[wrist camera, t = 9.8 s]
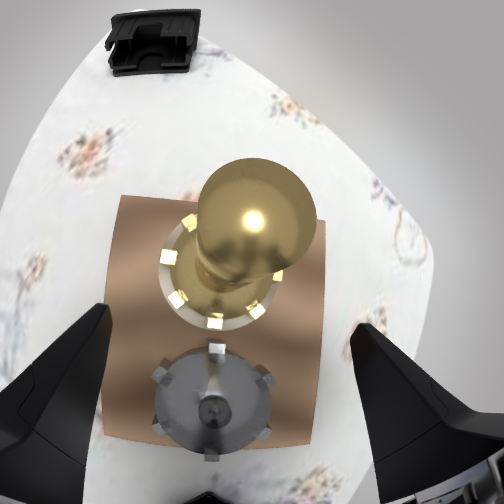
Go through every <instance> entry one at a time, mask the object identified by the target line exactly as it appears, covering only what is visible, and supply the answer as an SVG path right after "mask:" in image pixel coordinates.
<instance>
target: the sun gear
mask: <svg viewBox="0 0 504 504" xmlns="http://www.w3.org/2000/svg"><path fill="white" fill-rule="evenodd" d="M151 378H153V379H154V380H156V381H157V382H158V383H159V385H158V388H157V391H156V395H155V411H156V413H155V416H154V419H153V422H152V425H151V426H152V428H153V429H154V431H155V432H156V434H157V435H158V437H161V436H164V435H168V436H169V437H170V438H171V439H172V440H173V441H175V442H176V443H177V444H179V445H180V446H182V447H184V448H186V449H188V450H190V451H193V452H196V453H201V454H204V461H214V462H219V455H221V454H228V453H232V452H235V451H238V450H240V449H242V448H244V447H246V446H248V445H249V444H251V443H252V442H253V441H254V440H255V439H257V438H259V439H261V440H263V441H265V440H266V439H267V438H268V436H269V435H270V434H271V432H272V431H273V430H272V429H271V427H270V426H269V424H268V421H269V418H270V414H271V404H272V402H271V395H270V391H269V389H270V388H272V387H274V386H276V385H277V383H276V381H275V379H274V377H273V375H272V373H271V372H270V371H269V370H267V369H266V368H265V367H263V366H262V365H261V364H259V365H257V366H255V367H253V366H252V365H250V364H249V363H248V362H247V361H246V360H245V359H244V358H243V357H241V356H240V355H238V354H237V353H235V352H233V351H230V350H228V349H225V343H224V342H223V341H222V340H221V339H214V338H207V346H206V347H198V348H194V349H191V350H188V351H186V352H184V353H182V354H181V355H179V356H178V357H176V358H175V359H174V360H173V361H172V362H170V361H169V360H167V359H166V358H165V357H164V358H163V359H162V361H161V362H160V364H159V365H158V367H157V368H156V370H155V371H154V373H153V375H152V376H151Z"/></svg>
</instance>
